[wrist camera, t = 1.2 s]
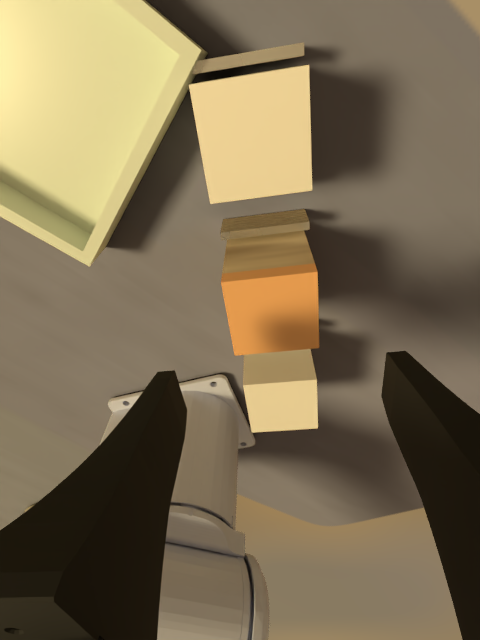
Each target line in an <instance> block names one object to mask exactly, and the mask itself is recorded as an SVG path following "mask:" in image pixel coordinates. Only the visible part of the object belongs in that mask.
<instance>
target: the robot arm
mask: <svg viewBox="0 0 480 640" xmlns="http://www.w3.org/2000/svg"><path fill="white" fill-rule="evenodd" d="M212 382H216V383H212ZM382 400H383V403H384V407H385V411H386V414H387V417H388V421H389V424H390V426H391V429H392V431H393V433H394V436H395V438H396V440H397V443H398V445H399V447H400V450H401V452H402V454H403V457H404V459H405V461H406V463H407V466H408V468H409V470H410V473H411V475H412V477H413V480H414V482H415V484H416V486H417V489H418V492H419V494H420V497H421V499H422V502H423V505H424V508H425V511H426V514H427V518H428V521H429V523H430V527H431V530H432V533H433V536H434V539H435V543H436V546H437V549H438V553H439V556H440V559H441V563H442V566H443V569H444V573H445V576H446V580H447V583H448V587H449V590H450V594H451V597H452V601H453V604H454V608H455V612H456V616H457V619H458V623H459V627H460V631H461V635H462V639H463V640H480V414H479V413H477V412H476V411H475V410H474V409H472V408H471V407H470V406H468V405H467V404H466V403H465V402H463V401H462V400H461V399H460V398H458V397H457V396H456V395H455V394H454V393H453V392H451V391H450V390H449V389H448V388H447V387H445V386H444V385H443V384H442V383H441V382H440V381H438V380H437V379H436V378H435V377H434V376H433V375H432V374H431V373H430V372H428V371H427V370H426V369H425V368H424V367H423V366H422V365H421V364H420V363H419V362H417V361H416V360H415V359H414V358H413V357H412V356H411V355H410V354H409V353H407V352H406V351H399V352H387V353H386V361H385V370H384V379H383V387H382ZM126 401H128V402H126ZM108 406H109V408H110V409H111V411H112V412H113V413H112V415H111V418H110V420H109V422H108V425H107V427H106V430H105V432H104V435H103V437H102V440H101V442H100V445H99V446H98V448H97V449H96V450H95V451H94V452H93V453H92V454H91V455H90V456H89V457H88V458H87V459H86V460H85V461H84V462H83V463H82V464H81V465H80V466H79V467H78V468H77V469H76V470H75V471H74V472H72V473H71V474H70V475H69V476H68V477H67V478H66V479H65V480H63V481H62V482H61V483H60V484H59V485H58V486H57V487H56V488H54V489H53V490H52V491H51V492H50V493H49V494H47V495H46V496H45V497H44V498H43V499H41V500H40V501H39V502H38V503H36V504H35V505H34V506H33V507H31V508H30V509H29V510H27V511H26V512H25V513H24V514H22V515H21V516H20V517H18V518H17V519H16V520H14V521H13V522H12V523H10V524H9V525H7V526H6V527H4V528H3V529H2V530H0V640H268V634H269V598H268V590H267V585H266V581H265V578H264V576H263V573H262V571H261V569H260V566H259V563H258V562H257V560H256V558H255V557H254V556H252V555H250V554H246V553H245V534H244V533H241V532H238V531H235V523H236V497H237V496H236V495H237V469H238V449H240V448H246V447H251V446H253V445H255V438H254V435H253V433H252V432H251V429H250V427H249V425H248V422H247V420H246V418H245V416H244V414H243V412H242V409H241V407H240V405H239V403H238V401H237V398H236V396H235V394H234V392H233V390H232V388H231V385H230V383H229V381H228V379H227V377H226V376H224V375H221V374H220V375H214V376H210V377H205V378H201V379H196V380H192V381H187V382H183V383H179V382H178V379H177V376H176V373H175V371H163V372H157V374H156V375H155V376H154V378H153V379H152V380H151V382H150V383H149V384H148V386H147V387H146V388H145V390H144V391H142V392H138V393H133V394H129V395H124V396H120V397H115V398H112V399H110V400H109V402H108Z"/></svg>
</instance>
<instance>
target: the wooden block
mask: <svg viewBox="0 0 480 640" xmlns="http://www.w3.org/2000/svg"><path fill="white" fill-rule="evenodd" d="M221 285H222V290H223V295H224V301H225V306H226V311H227V317H228V322H229V327H230V333H231V338H232V343H233V349H234V354H235V356H236V355H247V354H258V353H270V352H281V351H292V350H303V349H315V348H319V314H318V271H317V268H316V265H315V262H314V259H313V256H312V253H311V250H310V247H309V244H308V241H307V238H306V235H305V232H304V230H303V231H295V232H286V233H278V234H270V235H261V236H253V237H245V238H237V239H228V240H227V245H226V252H225V259H224V266H223V272H222V279H221Z"/></svg>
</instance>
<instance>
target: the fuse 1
mask: <svg viewBox="0 0 480 640" xmlns="http://www.w3.org/2000/svg"><path fill="white" fill-rule="evenodd" d="M189 89H190V95H191V100H192V106H193V111H194V117H195V122H196V128H197V133H198V139H199V144H200V150H201V155H202V161H203V166H204V172H205V177H206V183H207V188H208V194H209V199H210V204H213V203H220V202H228V201H236V200H243V199H251V198H259V197H266V196H274V195H282V194H289V193H297V192H305V191H312V159H311V119H310V79H309V65H304V66H294V67H288V68H282V69H276V70H270V71H264V72H258V73H252V74H246V75H240V76H234V77H228V78H222V79H216V80H209V81H204V82H199V83H195V84H190V85H189Z"/></svg>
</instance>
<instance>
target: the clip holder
mask: <svg viewBox="0 0 480 640" xmlns="http://www.w3.org/2000/svg"><path fill="white" fill-rule="evenodd" d="M301 56H304V43H299V44H293V45H287V46H281V47H275V48H269V49H264V50H258V51H252V52H246V53H240V54H234V55H229V56H223V57H217V58H211V59H205V60H199V61H197V63H196V65H195V67H194V69H193V71H192V73H193V74H202V73H207V72H213V71H219V70H225V69H231V68H237V67H243V66H249V65H255V64H261V63H267V62H273V61H279V60H285V59H291V58H297V57H301ZM303 230H310V222H309V219H308V217H307V214H306V211H305V209H300V210H292V211H284V212H276V213H269V214H261V215H253V216H245V217H237V218H229V219H223V221H222V227H221V232H220V234H221V240H228V239H237V238H245V237H253V236H261V235H270V234H278V233H286V232H295V231H303Z"/></svg>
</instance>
